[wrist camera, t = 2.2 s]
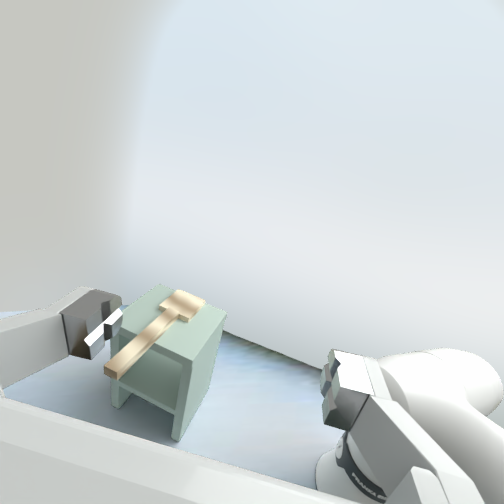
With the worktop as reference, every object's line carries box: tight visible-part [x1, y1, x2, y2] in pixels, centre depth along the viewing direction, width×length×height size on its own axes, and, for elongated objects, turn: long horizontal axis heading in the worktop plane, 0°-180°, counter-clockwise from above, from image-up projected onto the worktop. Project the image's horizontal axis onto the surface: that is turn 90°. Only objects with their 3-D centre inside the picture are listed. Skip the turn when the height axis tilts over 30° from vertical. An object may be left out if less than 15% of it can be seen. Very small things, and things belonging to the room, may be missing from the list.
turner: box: [104, 289, 205, 380], centre depth 48 cm, size 23×7×2 cm, turn 161°
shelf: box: [110, 284, 227, 442], centre depth 58 cm, size 18×15×26 cm
